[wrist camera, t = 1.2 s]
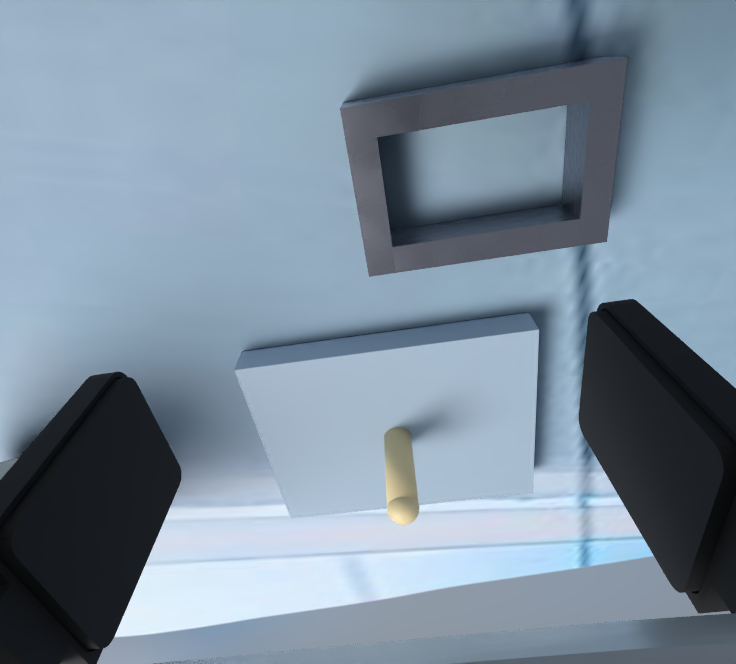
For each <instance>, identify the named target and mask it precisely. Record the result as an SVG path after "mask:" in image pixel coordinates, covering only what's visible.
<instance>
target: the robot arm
mask: <svg viewBox="0 0 736 664" xmlns="http://www.w3.org/2000/svg"><path fill="white" fill-rule="evenodd" d="M579 424H580V428H581V431H582V433H583V435H584V437H585V439H586V440H587V442H588V444H589V446H590V447H591V449H592V451H593V452H594V454H595V456H596V457H597V459H598V461H599V463H600V464H601V466H602V468H603V469H604V471H605V473H606V475H607V476H608V478H609V480H610V481H611V483H612V485H613V487H614V488H615V490H616V492H617V493H618V495H619V497H620V498H621V500H622V502H623V504H624V505H625V507H626V509H627V510H628V512H629V514H630V516H631V517H632V519H633V521H634V522H635V524H636V526H637V528H638V529H639V531H640V533H641V534H642V536H643V538H644V539H645V541H646V543H647V545H648V546H649V548H650V550H651V551H652V553H653V555H654V557H655V558H656V560H657V562H658V563H659V565H660V567H661V568H662V570H663V572H664V573H665V575H666V577H667V579H668V580H669V582H670V584H671V585H672V586H673V588H674V589H675V590H676V591H678V592H680V593H681V592H686V594H687V595H688V597H689V599H690V600H691V602H692V604H693V605H694V607H695V608H696V610H697V612H698V613H709V612H720V611H730V612H731V613H732V614H719V615H705V616H690V617H676V618H661V619H647V620H632V621H618V622H605V623H594V624H583V625H570V626H559V627H548V628H536V629H525V630H514V631H502V632H490V633H480V634H467V635H456V636H444V637H433V638H422V639H411V640H400V641H389V642H378V643H368V644H357V645H345V646H335V647H324V648H313V649H302V650H292V651H281V652H270V653H260V654H250V655H238V656H227V657H217V658H206V659H196V660H186V661H176V662H166V663H156V664H736V388H734V387H733V386H732V385H731V384H730V383H729V382H728V381H727V380H725V379H724V378H723V377H722V376H721V375H720V374H719V373H718V372H716V371H715V370H714V369H713V368H712V367H711V366H710V365H709V364H707V363H706V362H705V361H704V360H703V359H702V358H701V357H699V356H698V355H697V354H696V353H695V352H694V351H693V350H692V349H690V348H689V347H688V346H687V345H686V344H685V343H684V342H683V341H681V340H680V339H679V338H678V337H677V336H676V335H675V334H674V333H672V332H671V331H670V330H669V329H668V328H667V327H666V326H664V325H663V324H662V323H661V322H660V321H659V320H658V319H657V318H655V317H654V316H653V315H652V314H651V313H650V312H649V311H648V310H646V309H645V308H644V307H643V306H642V305H641V304H640V303H638V302H637V301H636V300H634V299H628V300H621V301H614V302H607V303H602V304H600V305H599V307H598V309H597V311H596V312H592V313H590V315H589V318H588V327H587V337H586V347H585V357H584V368H583V378H582V388H581V398H580V409H579ZM180 482H181V468H180V466H179V464H178V462H177V460H176V458H175V456H174V454H173V452H172V450H171V448H170V446H169V444H168V443H167V441H166V439H165V437H164V435H163V433H162V431H161V429H160V427H159V425H158V423H157V421H156V420H155V418H154V416H153V414H152V412H151V410H150V408H149V406H148V404H147V402H146V400H145V398H144V396H143V395H142V393H141V391H140V389H139V387H138V385H137V383H136V382H135V380H134V379H132V378H130V377H127V376H126V375H125V374H124V373H122V372H114V373H107V374H100V375H94V376H90V377H89V378H88V379H87V380H86V381H85V382H84V383H83V384H82V385H81V387H80V388H79V389H78V390H77V391H76V392H75V394H74V395H73V396H72V397H71V398H70V399H69V401H68V402H67V403H66V404H65V405H64V406H63V408H62V409H61V410H60V411H59V412H58V413H57V415H56V416H55V417H54V418H53V419H52V420H51V422H50V423H49V424H48V425H47V426H46V427H45V429H44V430H43V431H42V432H41V433H40V434H39V436H38V437H37V438H36V439H35V440H34V441H33V442H32V444H31V445H30V446H29V447H28V448H27V449H26V451H25V452H24V453H23V454H22V455H21V456H20V458H19V459H18V460H17V461H16V462H15V463H14V465H13V466H12V467H11V468H10V469H9V470H8V472H7V473H6V474H5V475H4V476H3V477H2V479H1V480H0V664H97V661H98V659H99V657H100V654H101V652H102V650H103V648H105V647H107V646H108V645H109V644H110V643H111V641H112V640H113V638H114V636H115V634H116V631H117V629H118V627H119V624H120V622H121V620H122V617H123V615H124V613H125V610H126V608H127V606H128V603H129V601H130V599H131V596H132V594H133V592H134V589H135V587H136V585H137V583H138V580H139V578H140V576H141V573H142V571H143V569H144V566H145V564H146V562H147V559H148V557H149V555H150V552H151V550H152V548H153V545H154V543H155V541H156V538H157V536H158V534H159V531H160V529H161V527H162V524H163V522H164V520H165V517H166V515H167V513H168V510H169V508H170V506H171V503H172V501H173V499H174V496H175V494H176V492H177V489H178V487H179V485H180Z"/></svg>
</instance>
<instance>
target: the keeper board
mask: <svg viewBox="0 0 736 664" xmlns="http://www.w3.org/2000/svg"><path fill="white" fill-rule="evenodd" d="M538 346H539V329H538V327H537V325H536V324H535V322H534V320H533V319H532V317H531V316H530V314H529V313H522V314H515V315H507V316H500V317H493V318H485V319H478V320H471V321H463V322H456V323H449V324H441V325H434V326H427V327H419V328H412V329H405V330H397V331H390V332H383V333H376V334H368V335H361V336H354V337H346V338H339V339H332V340H324V341H317V342H310V343H302V344H295V345H288V346H280V347H273V348H266V349H258V350H251V351H244V352H242V353H241V355H240V358H239V360H238V363H237V365H236V367H235V370H234V371H235V374H236V376H237V379H238V381H239V384H240V387H241V389H242V392H243V394H244V397H245V400H246V402H247V405H248V407H249V410H250V413H251V415H252V418H253V420H254V423H255V426H256V428H257V431H258V433H259V436H260V439H261V441H262V444H263V447H264V449H265V452H266V454H267V457H268V460H269V462H270V465H271V467H272V470H273V473H274V475H275V478H276V480H277V483H278V486H279V488H280V491H281V493H282V496H283V499H284V501H285V504H286V507H287V509H288V512H289V514H290V517H291V518H300V517H309V516H319V515H328V514H338V513H347V512H357V511H366V510H376V509H385V508H387V512H388V515H389V517H390V518H391V519H392V520H393V521H394V522H395V523H397V524H400V525H407V524H410V523H412V522H413V521H414V520H415V519H416V517H417V516H418V513H419V505H423V504H433V503H442V502H452V501H461V500H471V499H480V498H490V497H499V496H509V495H518V494H528V493H533V475H534V449H535V424H536V398H537V372H538Z"/></svg>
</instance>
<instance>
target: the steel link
mask: <svg viewBox="0 0 736 664" xmlns="http://www.w3.org/2000/svg"><path fill="white" fill-rule="evenodd" d="M627 61H628V57H597V58H591V59H586V60H580V61H574V62H569V63H563V64H558V65H552V66H546V67H541V68H535V69H530V70H524V71H519V72H513V73H507V74H502V75H496V76H491V77H485V78H479V79H474V80H468V81H463V82H457V83H451V84H446V85H440V86H435V87H429V88H424V89H418V90H412V91H407V92H401V93H396V94H390V95H384V96H379V97H373V98H368V99H362V100H357V101H351V102H345V103H343V104H342V106H341V108H340V111H341V116H342V122H343V128H344V134H345V140H346V145H347V151H348V157H349V163H350V169H351V174H352V180H353V186H354V192H355V197H356V203H357V209H358V215H359V221H360V226H361V232H362V238H363V244H364V249H365V255H366V261H367V267H368V273H369V277H370V276H377V275H383V274H390V273H397V272H404V271H411V270H417V269H424V268H431V267H438V266H445V265H451V264H458V263H465V262H472V261H479V260H485V259H492V258H499V257H506V256H513V255H519V254H526V253H533V252H540V251H547V250H553V249H560V248H567V247H574V246H581V245H587V244H594V243H601V242H607V236H608V227H609V218H610V209H611V201H612V192H613V183H614V175H615V166H616V157H617V148H618V140H619V131H620V122H621V114H622V105H623V96H624V88H625V79H626V70H627ZM563 105H568V106H567V122H566V139H565V156H564V173H563V190H562V204H560V205H553V206H547V207H541V208H534V209H528V210H521V211H515V212H508V213H502V214H495V215H489V216H482V217H476V218H469V219H463V220H457V221H450V222H444V223H437V224H431V225H424V226H418V227H411V228H405V229H398V230H392V231H390V225H389V218H388V211H387V204H386V196H385V189H384V182H383V175H382V168H381V161H380V153H379V146H378V139H377V137H382V136H388V135H394V134H400V133H406V132H411V131H417V130H423V129H429V128H435V127H441V126H446V125H452V124H458V123H464V122H470V121H475V120H481V119H487V118H493V117H499V116H505V115H510V114H516V113H522V112H528V111H534V110H540V109H545V108H551V107H557V106H563Z"/></svg>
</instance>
